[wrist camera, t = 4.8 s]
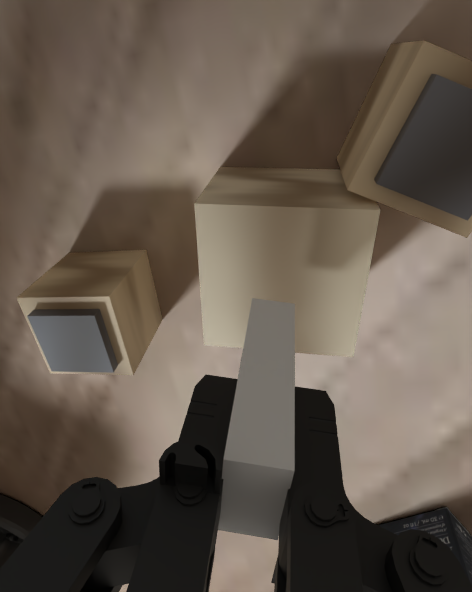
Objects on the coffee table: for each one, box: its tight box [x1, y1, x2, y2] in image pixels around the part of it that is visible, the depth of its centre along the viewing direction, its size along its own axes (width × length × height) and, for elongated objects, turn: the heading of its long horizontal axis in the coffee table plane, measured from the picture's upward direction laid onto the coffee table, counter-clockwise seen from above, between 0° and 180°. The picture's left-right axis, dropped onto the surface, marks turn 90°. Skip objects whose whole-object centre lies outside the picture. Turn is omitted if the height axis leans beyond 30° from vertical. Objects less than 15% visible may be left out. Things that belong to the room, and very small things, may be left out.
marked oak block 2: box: [17, 250, 162, 375], centre depth 23 cm, size 5×5×6 cm
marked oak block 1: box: [337, 40, 472, 238], centre depth 16 cm, size 5×5×6 cm
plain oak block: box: [194, 167, 380, 357], centre depth 19 cm, size 7×7×6 cm
